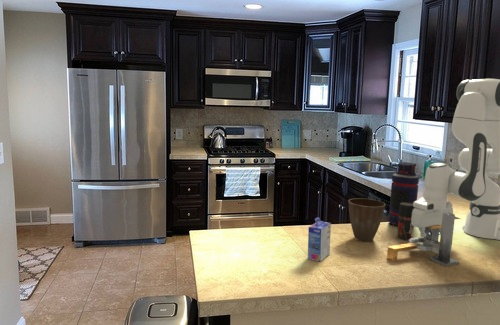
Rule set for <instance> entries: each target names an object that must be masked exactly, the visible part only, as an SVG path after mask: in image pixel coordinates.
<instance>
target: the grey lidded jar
mask: <svg viewBox="0 0 500 325" xmlns="http://www.w3.org/2000/svg"><path fill="white" fill-rule="evenodd" d="M439 228H441V225H435V226H430V227H425V230H424V231H425V233H426V237H422V238H429V239H433V240H436V241H438V242H439V239H440V237H439V236H440V235H439ZM422 245H428V246H433V245H431V244H427V243H422Z"/></svg>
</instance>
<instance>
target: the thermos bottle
mask: <svg viewBox="0 0 500 325" xmlns="http://www.w3.org/2000/svg"><path fill="white" fill-rule="evenodd" d="M417 168H418V172H419V173H418V174H417ZM420 173H421V170H420V167H419V166H417V163H414V162H406V161H403V162H398V165H397V171H396V172H395V173H392V177H391V185H390V186H391V188H390V198H389V199H390V200H389V213H388V222H389V223H388V224H389V225H395V226H398V221H399V210H400V203H403V202H405V203H412V204H413V203H414V202H415V201H417V200H418V194H419V193H418V192H419V184H420V183H419V182H420V181H419V180H420V177H419V175H420Z"/></svg>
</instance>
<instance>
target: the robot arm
mask: <svg viewBox="0 0 500 325" xmlns="http://www.w3.org/2000/svg"><path fill="white" fill-rule="evenodd" d="M455 92H456V93H455V94H456V99H457V101H458V102H457V104H456V108H455V111H454V114H453V118H452V123H451V133H452V134H453V136H454V137H455V138H456V140H458V141H459V142H460V143H462V144H463V145H465V147H466V148H465V147H464V148H463V149H462V150H461V151H460V152H459V154H458V156H457V158H458V159H457V161H458V165H459V166H460V168H461V169H462V170H464V171H465V172H466V173H465V172H461V171H458V170H455V169H454V168H452V167H451V166H449V164H448V163H445V162H434V163H430V164H429V165H428V167H427V168H426V171H425V174H424V175H425V176H424V183H423V184H424V191H423V193H422V195H423V196H422V197H420V198H418V199H417V201H415V202H414V203H413V207H415V208H414V209H413V212H412V219H411V223H412V225H413V228H414V227H415V228H418V231H419V236H420V237H421V238H423V237H426V233H425V231H424V230H425V227H430V226H435V225H441V226H442V217H443V213H451V214H454V209H453V203H452V202H451V201H449V200H448V194H449V195H452V196H454V197H455V196H456V197H459V198H462V199H464V200H467V201H468V202H469V211H467V215H466V218H465V223H464V225H463V226H462V229H463V232H464V233H466V234H468V235H470V236H473V237H478V238H481V239H491V240H497V241H500V185H499V184H498V183H496V182H495V181H493V180H491V178H489V176H488V174H492V175H500V79H499V78H498V79H497V78H479V79H477V78H476V79H472V78H471V79H465V80H462V81H461V82H460V83H459V84H458V86H457V87H456V91H455ZM488 145H489V146H491V148H488ZM439 236H441V228H439Z"/></svg>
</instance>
